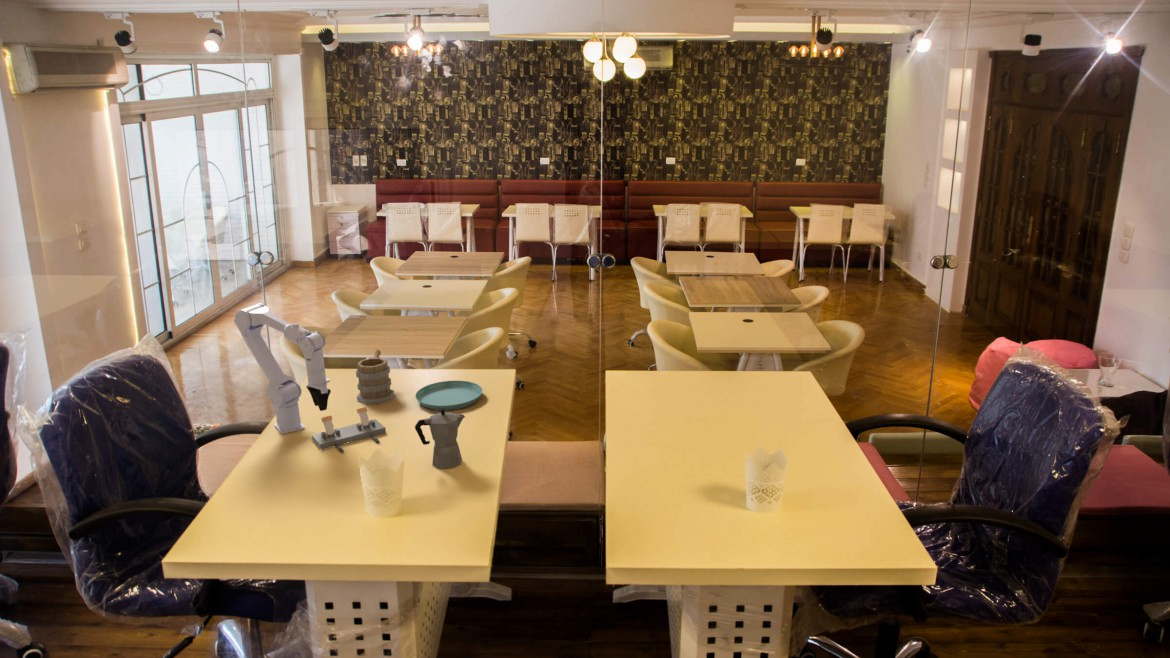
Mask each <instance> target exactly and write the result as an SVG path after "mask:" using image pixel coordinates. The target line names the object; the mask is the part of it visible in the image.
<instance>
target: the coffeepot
mask: <svg viewBox="0 0 1170 658" xmlns="http://www.w3.org/2000/svg"><path fill="white" fill-rule="evenodd" d="M439 411H440V412H438V413H435V414H432V415H430V416H429V418H427V417H426V418H423V419H419V420H418V421H417V422H416V423H415V425H414V430H415V431H416V434H417V435H418V437H419V440H420V441H421V443H422V445H423V446H424V445H425V446H427V445H429V444H431V441H430V440H426V437H425V435H424V433H423V429H422V428H421V427H422V426H429V430H430V433H431V437H432V441H434V445H433V453H432V466H434V468H436V469H439V470H451V469H455V468H457V467H459V466H460V465H461V464H462V460H463V458H462V454H461V450H460V446H459V442H458V441H457V438H458V433H459V431H458V430H459V427H460V425H461V423H462V421H463V419H464V418H466V416H465V414H462V413H454V412H451V411H450V412H446V410H445V409H440V410H439Z"/></svg>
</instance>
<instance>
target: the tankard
mask: <svg viewBox="0 0 1170 658" xmlns="http://www.w3.org/2000/svg"><path fill="white" fill-rule="evenodd" d="M381 355H382V351H381V350H380V349H375V352H374V356H373V357H370V358H365V359H361V360H360V361H358V363H357V364H356V368H357V369H356V371H355V375H356V376H355V377H356V378H358V383H356V385H357V390H359V393H358V394H357V396H356V401H358V402H360V403H362V404H364V405H379V404H383V403H385V402H389V401H391V400H392V399H393V398H394V396H395V390H393V389H391V386H392V379H391V378H390V375H389V374H390V372H391V368H390V367H391V366H390V365H388V360H387V359H384V358H383V357H380V356H381Z"/></svg>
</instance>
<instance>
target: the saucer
mask: <svg viewBox="0 0 1170 658" xmlns="http://www.w3.org/2000/svg"><path fill="white" fill-rule="evenodd" d="M482 394H483V387H482V386H480V385H479V384H478V383H475V382H473V381H466V380H444V381H439V382H433V383H430V384H427V385H425V386H423V387H421V388H420V389H418V390H417V391H416V393H415V396H414V397H415V399H416V401H417V402H418V403H419V404H420V405H421V406H423V407H425V408H427V409H431V410H434V411H440V409H445V411H452V410H459V409H463V408H466V407H468V406H471V405H473V404H474V403H475V402H477V401H478V400H479V399H480V397H481V395H482Z"/></svg>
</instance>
